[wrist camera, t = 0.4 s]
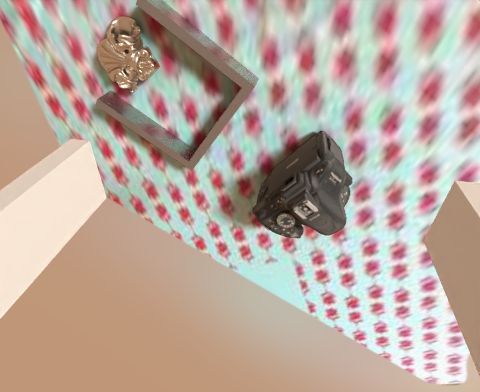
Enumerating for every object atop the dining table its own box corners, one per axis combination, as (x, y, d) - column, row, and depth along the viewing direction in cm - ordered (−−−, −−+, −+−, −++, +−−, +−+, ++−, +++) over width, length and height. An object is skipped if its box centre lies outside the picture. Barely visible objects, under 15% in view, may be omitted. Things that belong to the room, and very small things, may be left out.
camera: (316, 219, 46) (318, 271, 38) (254, 195, 45) (242, 243, 37) (366, 144, 38) (382, 191, 30) (291, 114, 37) (286, 153, 29)
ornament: (160, 96, 39) (149, 107, 36) (108, 80, 39) (92, 89, 36) (166, 27, 34) (153, 33, 31) (107, 8, 34) (88, 12, 31)
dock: (108, 97, 40) (95, 105, 38) (152, -8, 32) (139, -6, 30) (198, 159, 43) (191, 170, 41) (258, 78, 35) (254, 86, 33)
